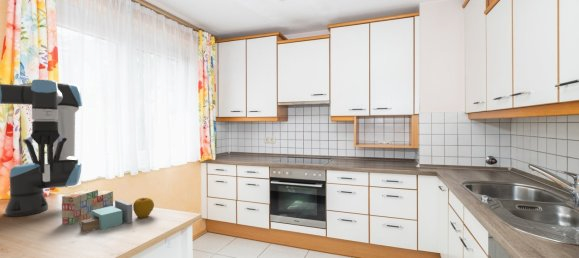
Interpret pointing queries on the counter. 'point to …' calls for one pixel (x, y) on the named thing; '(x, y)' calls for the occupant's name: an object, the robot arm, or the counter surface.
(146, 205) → the apple
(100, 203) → the stack of blocks
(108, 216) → the block
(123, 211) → the wall
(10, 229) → the counter surface
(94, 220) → the brown wooden bar
